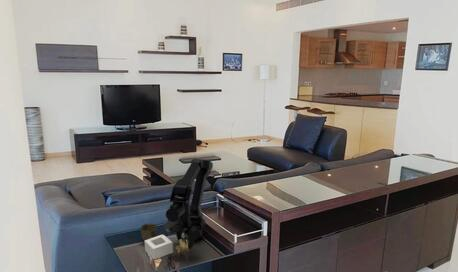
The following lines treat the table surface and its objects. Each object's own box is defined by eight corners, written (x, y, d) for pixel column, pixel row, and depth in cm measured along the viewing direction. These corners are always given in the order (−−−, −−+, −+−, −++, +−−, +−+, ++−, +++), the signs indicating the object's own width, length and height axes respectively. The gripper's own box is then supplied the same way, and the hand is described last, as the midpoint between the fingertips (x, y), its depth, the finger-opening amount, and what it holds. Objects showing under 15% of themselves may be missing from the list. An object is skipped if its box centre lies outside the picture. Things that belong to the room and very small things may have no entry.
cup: (153, 247, 151) (152, 230, 149) (138, 245, 153) (137, 229, 151) (160, 239, 158) (159, 223, 157) (145, 237, 160) (144, 222, 158)
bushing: (186, 248, 150) (185, 235, 149) (190, 252, 147) (190, 239, 146) (178, 251, 148) (177, 238, 146) (183, 255, 145) (182, 242, 143)
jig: (163, 244, 153) (162, 234, 152) (172, 252, 147) (172, 242, 146) (145, 250, 148) (144, 240, 147) (153, 259, 141) (153, 249, 140)
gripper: (156, 209, 146) (158, 242, 149) (177, 224, 131) (179, 260, 135) (178, 203, 153) (180, 234, 156) (201, 217, 138) (202, 251, 141)
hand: (184, 244), depth 147 cm, fingers open, 9 cm apart
